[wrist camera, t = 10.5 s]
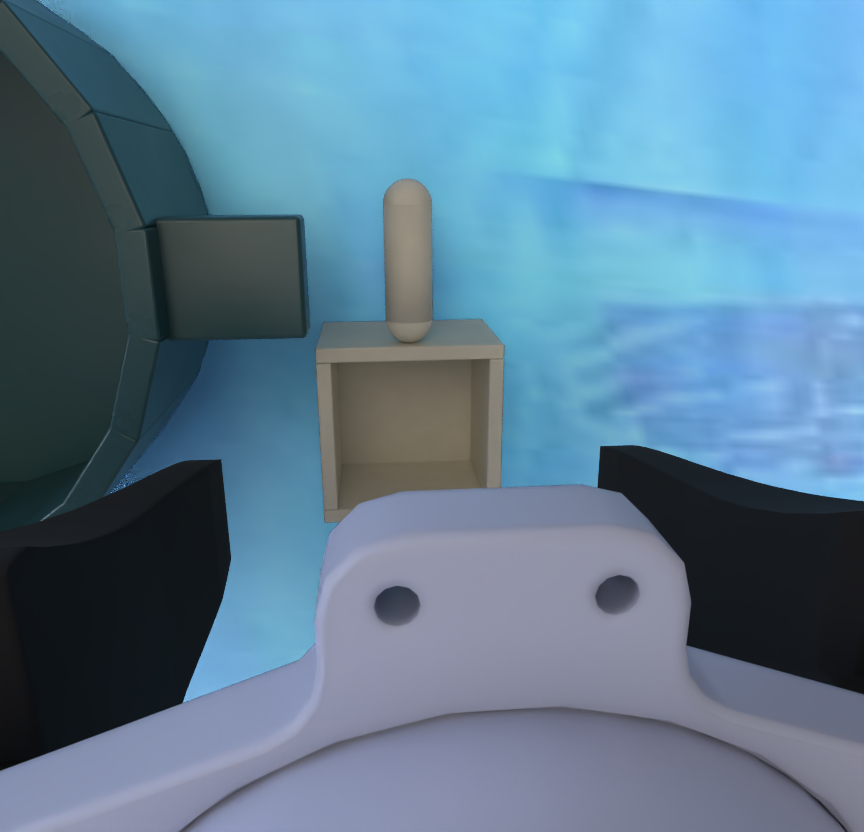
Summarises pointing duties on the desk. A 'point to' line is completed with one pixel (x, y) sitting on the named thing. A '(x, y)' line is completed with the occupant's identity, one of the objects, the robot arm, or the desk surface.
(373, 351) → the scoop
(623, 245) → the desk surface
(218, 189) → the desk surface
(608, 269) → the desk surface
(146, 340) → the pot
